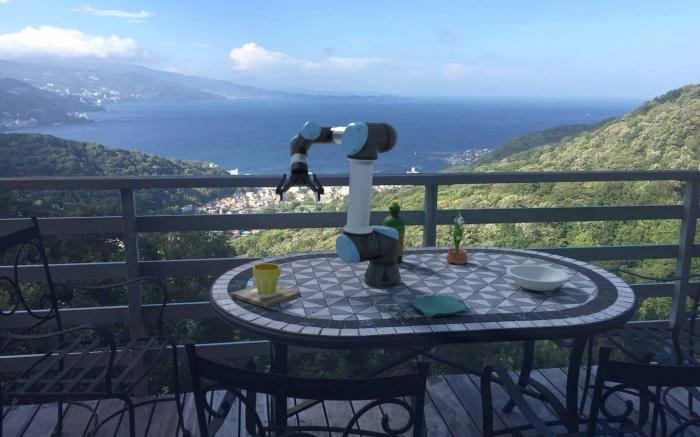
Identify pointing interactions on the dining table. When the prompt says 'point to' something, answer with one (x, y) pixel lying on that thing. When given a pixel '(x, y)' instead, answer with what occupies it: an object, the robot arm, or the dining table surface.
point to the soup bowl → (537, 277)
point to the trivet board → (266, 296)
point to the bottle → (396, 226)
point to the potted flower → (457, 243)
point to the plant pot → (266, 277)
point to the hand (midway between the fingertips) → (300, 207)
